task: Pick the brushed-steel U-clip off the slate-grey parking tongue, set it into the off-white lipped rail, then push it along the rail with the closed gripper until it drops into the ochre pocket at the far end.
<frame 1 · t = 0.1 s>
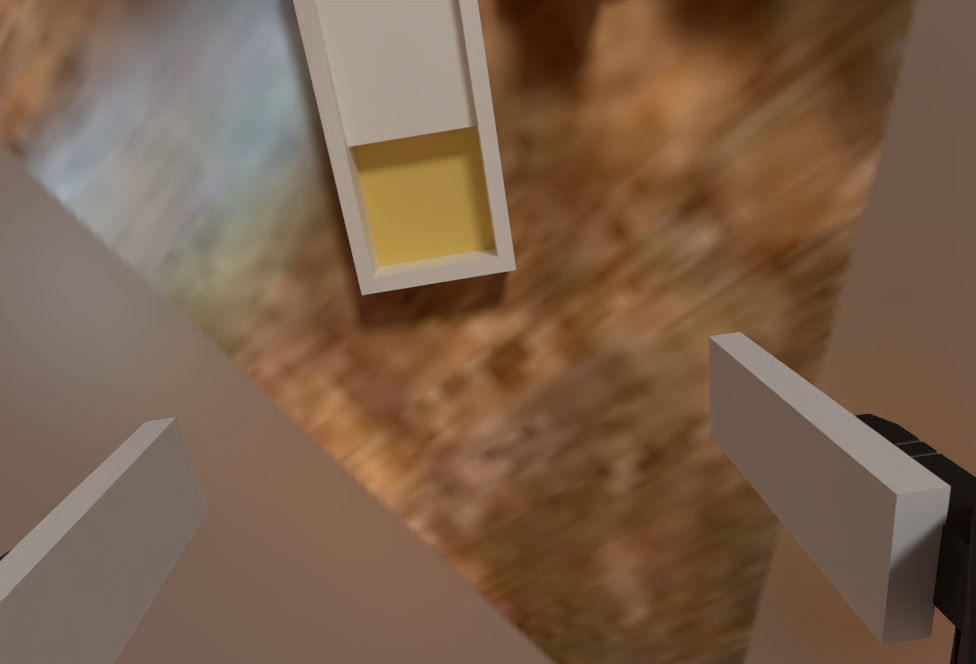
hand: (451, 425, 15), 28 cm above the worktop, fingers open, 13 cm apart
rail: (404, 77, 38), on the worktop
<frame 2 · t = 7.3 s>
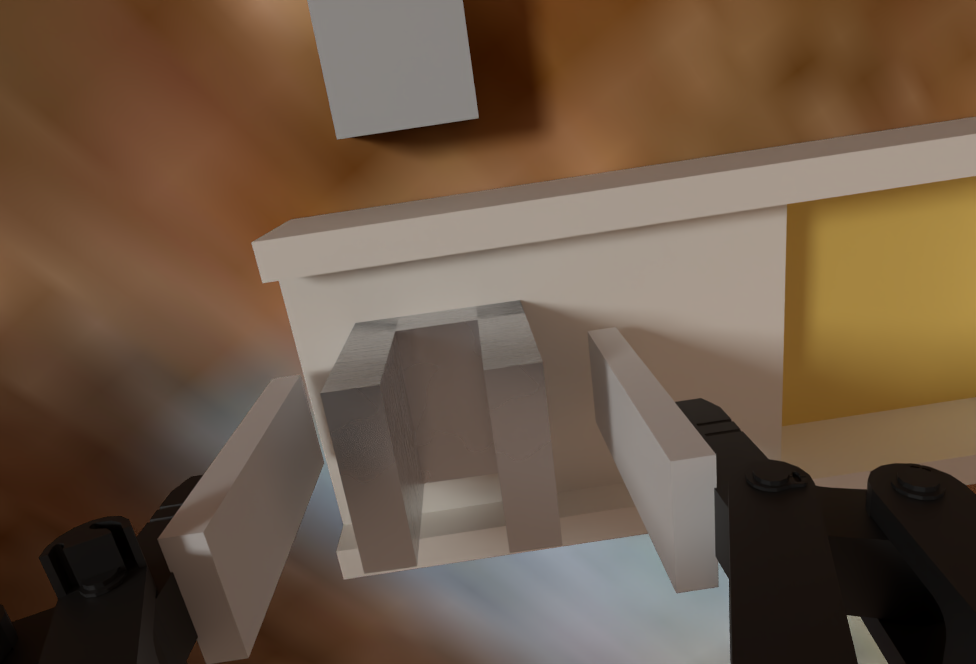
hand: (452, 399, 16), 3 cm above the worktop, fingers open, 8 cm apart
rail: (637, 328, 19), on the worktop
clip: (450, 386, 17), point 2 cm above the worktop, touching rail
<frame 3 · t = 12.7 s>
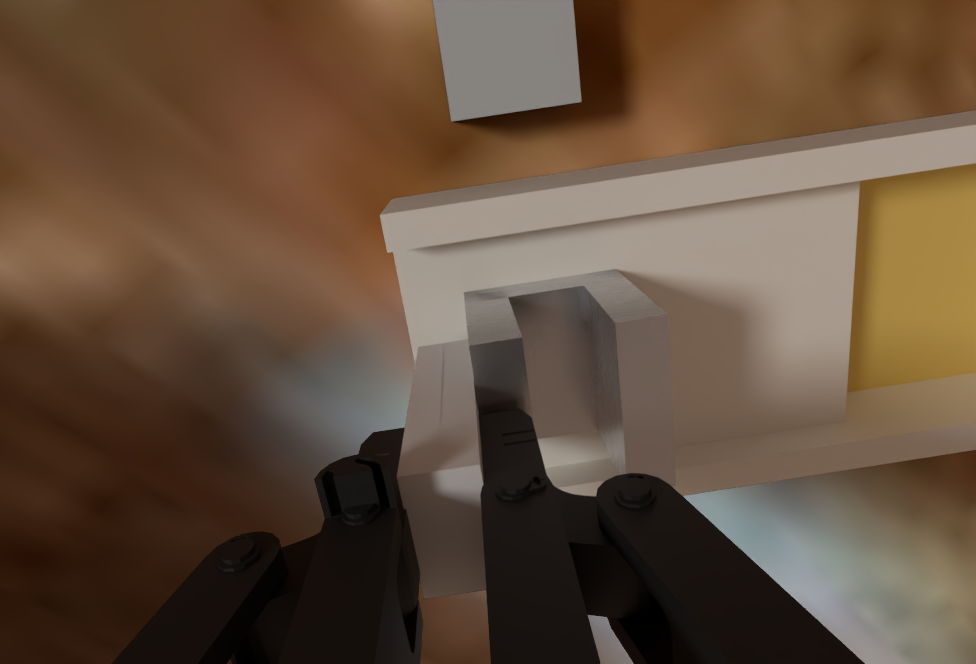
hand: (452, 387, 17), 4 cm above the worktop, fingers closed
rail: (708, 301, 21), on the worktop
clip: (547, 351, 18), point 2 cm above the worktop, touching gripper, rail
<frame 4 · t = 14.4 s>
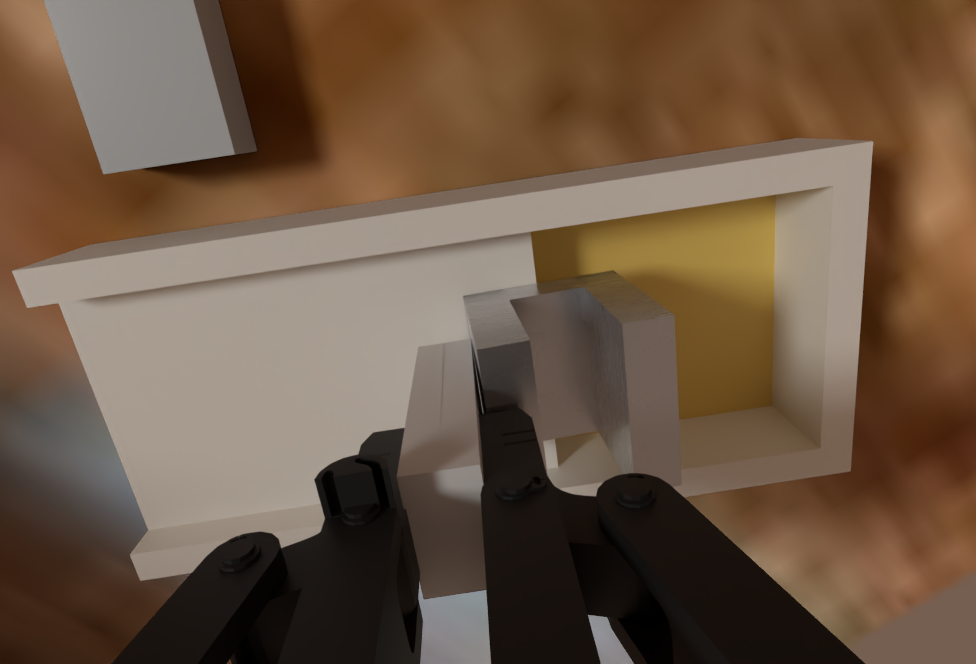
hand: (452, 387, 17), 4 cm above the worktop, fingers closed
rail: (433, 344, 21), on the worktop
clip: (547, 353, 18), point 2 cm above the worktop, touching rail
tongue: (156, 13, 17), on the worktop
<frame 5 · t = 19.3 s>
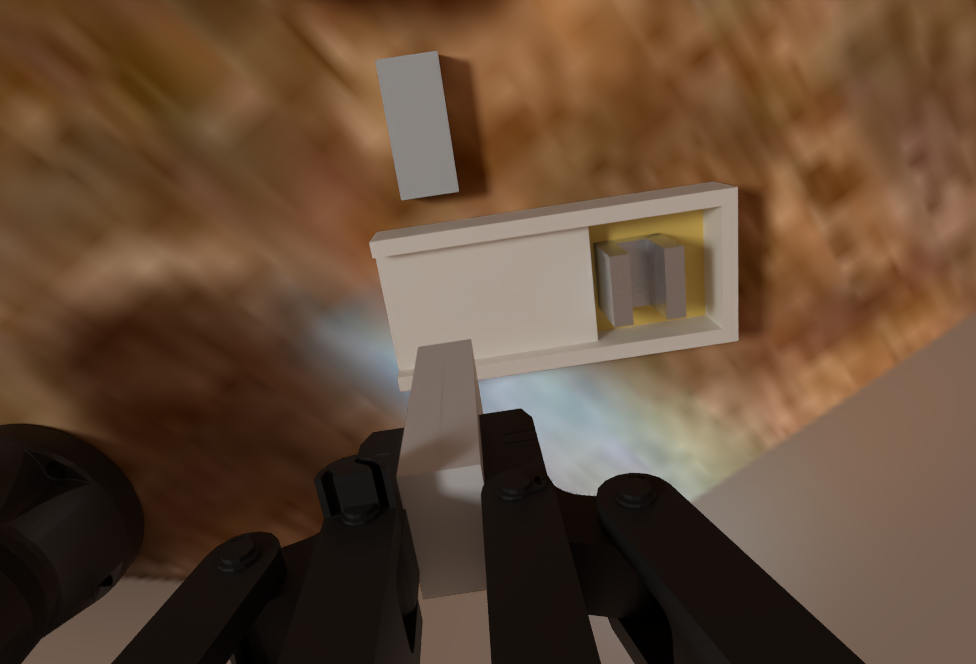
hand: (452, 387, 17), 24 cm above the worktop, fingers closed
rail: (535, 282, 41), on the worktop
clip: (628, 270, 41), point 1 cm above the worktop, touching rail
tongue: (420, 128, 38), on the worktop
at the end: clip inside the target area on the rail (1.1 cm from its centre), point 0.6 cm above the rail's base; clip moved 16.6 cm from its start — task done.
